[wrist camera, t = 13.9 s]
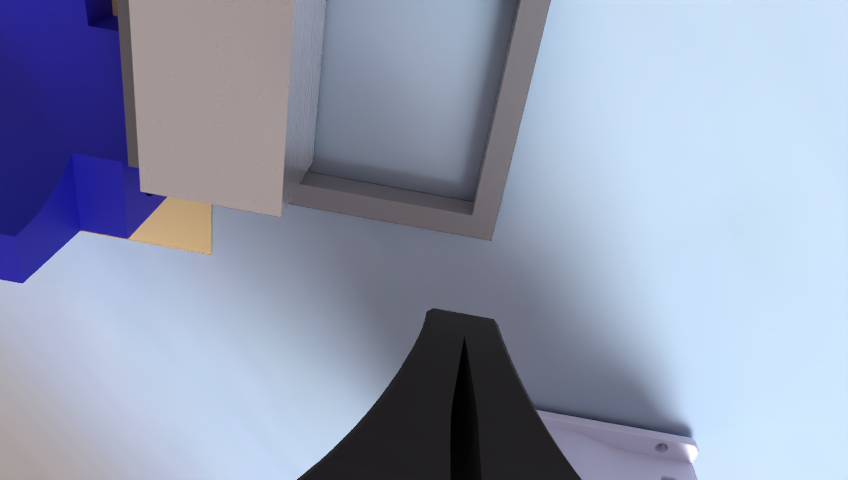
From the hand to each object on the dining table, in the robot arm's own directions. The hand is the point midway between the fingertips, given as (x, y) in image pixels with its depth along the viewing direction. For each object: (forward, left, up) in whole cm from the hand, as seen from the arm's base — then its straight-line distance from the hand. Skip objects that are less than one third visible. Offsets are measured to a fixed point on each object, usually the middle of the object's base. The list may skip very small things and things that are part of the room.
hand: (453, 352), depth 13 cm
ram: (+7, -2, -10) cm, 12 cm away
